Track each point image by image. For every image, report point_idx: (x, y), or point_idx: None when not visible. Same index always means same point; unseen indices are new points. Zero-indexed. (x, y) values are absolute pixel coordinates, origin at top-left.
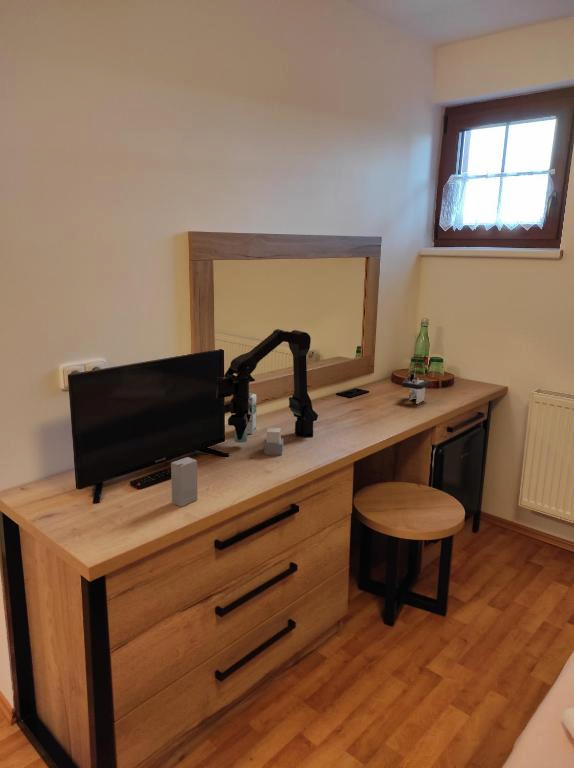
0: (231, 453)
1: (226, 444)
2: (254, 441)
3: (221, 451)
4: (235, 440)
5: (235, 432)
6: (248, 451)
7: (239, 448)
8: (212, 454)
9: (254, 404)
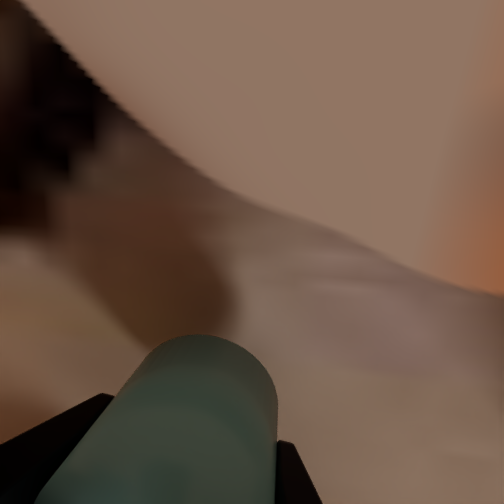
0: (46, 262)
1: (297, 231)
2: (352, 488)
3: (91, 168)
4: (157, 351)
5: (94, 435)
6: None
7: None
8: (2, 68)
9: None
